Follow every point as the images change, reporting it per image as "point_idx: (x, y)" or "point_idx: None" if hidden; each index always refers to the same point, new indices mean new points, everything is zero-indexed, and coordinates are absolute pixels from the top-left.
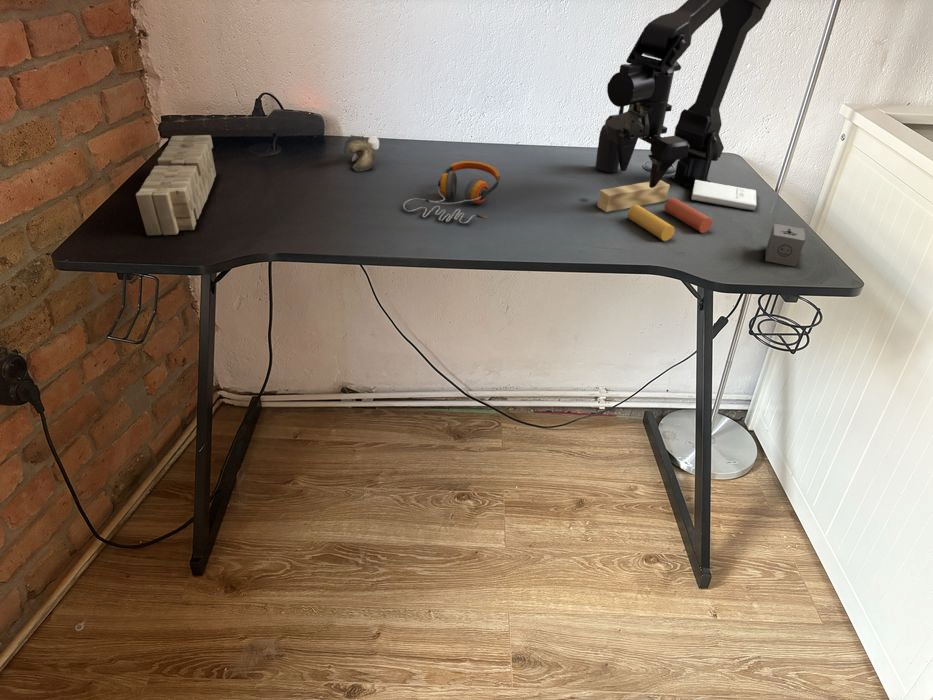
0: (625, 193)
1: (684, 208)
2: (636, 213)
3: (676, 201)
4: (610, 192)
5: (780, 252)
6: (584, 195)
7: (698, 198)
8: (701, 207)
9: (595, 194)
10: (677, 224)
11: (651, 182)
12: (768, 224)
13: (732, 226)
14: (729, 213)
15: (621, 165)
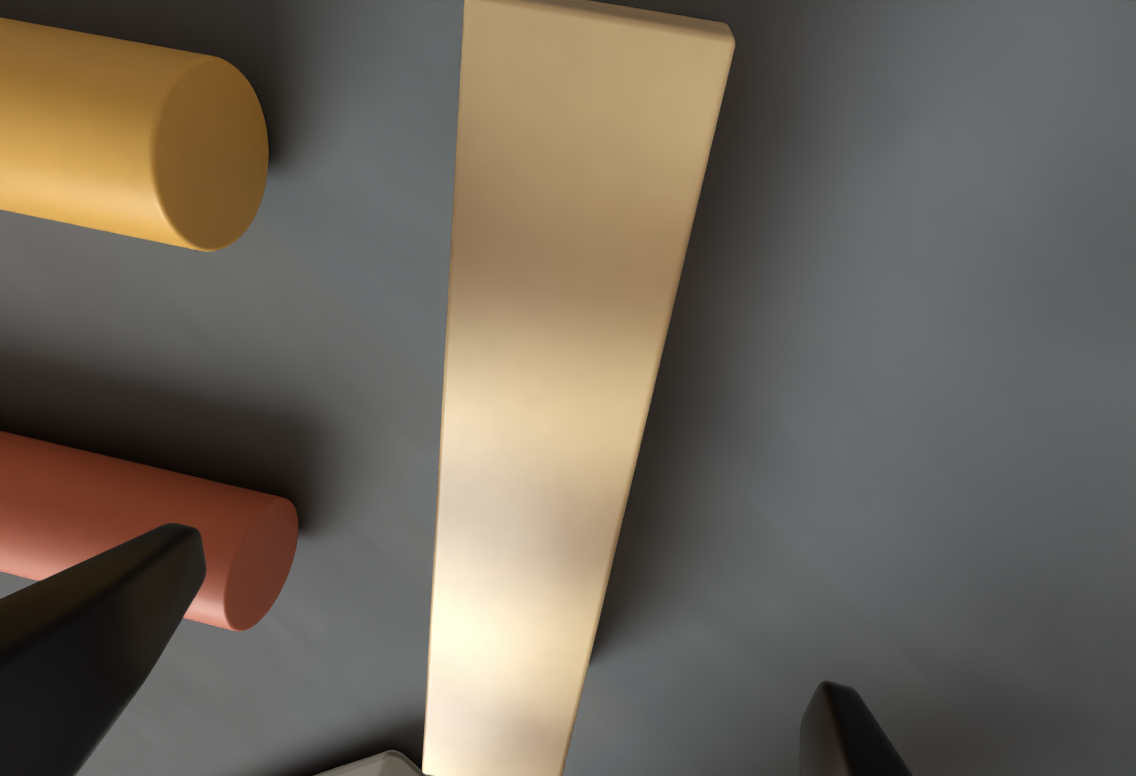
0: (449, 316)
1: (25, 529)
2: (32, 54)
3: None
4: (547, 121)
5: None
6: (1098, 148)
7: (351, 774)
8: (297, 710)
9: (996, 296)
10: (89, 400)
11: (89, 563)
12: None
13: None
14: (179, 739)
15: (847, 752)
